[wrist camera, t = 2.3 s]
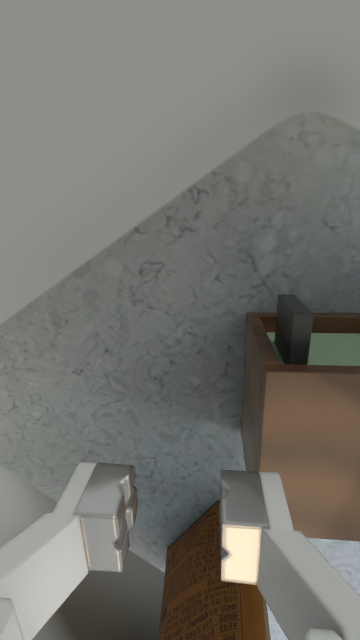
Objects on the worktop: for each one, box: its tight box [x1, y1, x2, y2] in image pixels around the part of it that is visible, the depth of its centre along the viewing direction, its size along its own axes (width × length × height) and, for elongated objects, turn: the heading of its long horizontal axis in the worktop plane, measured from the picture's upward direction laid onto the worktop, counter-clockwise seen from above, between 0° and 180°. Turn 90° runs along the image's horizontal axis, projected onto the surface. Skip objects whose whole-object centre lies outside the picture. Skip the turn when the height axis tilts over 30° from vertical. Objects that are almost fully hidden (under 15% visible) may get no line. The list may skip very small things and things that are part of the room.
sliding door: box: [266, 294, 360, 366], centre depth 23 cm, size 5×8×9 cm, turn 91°
